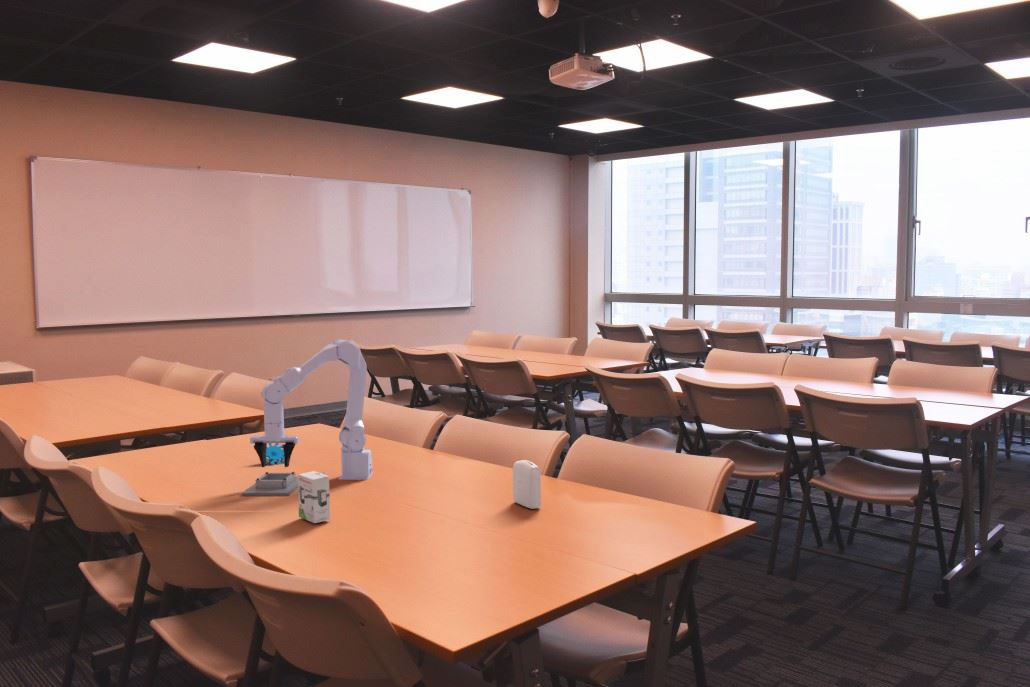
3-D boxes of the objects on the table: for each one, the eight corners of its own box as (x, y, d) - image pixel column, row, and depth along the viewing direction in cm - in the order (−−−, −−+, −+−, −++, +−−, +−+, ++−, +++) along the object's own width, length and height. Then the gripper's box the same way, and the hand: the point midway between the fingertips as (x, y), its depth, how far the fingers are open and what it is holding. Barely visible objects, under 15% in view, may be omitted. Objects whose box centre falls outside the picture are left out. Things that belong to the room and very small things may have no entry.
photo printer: (511, 501, 232) (510, 458, 231) (524, 499, 234) (523, 456, 233) (529, 510, 223) (529, 465, 222) (543, 508, 225) (542, 463, 224)
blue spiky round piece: (266, 465, 276) (256, 441, 280) (261, 475, 279) (252, 451, 284) (296, 460, 283) (287, 437, 287) (291, 470, 286) (282, 446, 291)
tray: (308, 479, 261) (307, 467, 260) (288, 495, 241) (288, 483, 241) (264, 479, 261) (264, 467, 261) (241, 495, 241) (241, 483, 241)
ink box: (297, 517, 219) (296, 473, 218) (314, 513, 222) (313, 470, 221) (314, 523, 213) (313, 478, 212) (331, 519, 216) (330, 475, 215)
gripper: (301, 420, 253) (302, 463, 254) (255, 420, 254) (256, 463, 255) (294, 424, 246) (296, 468, 247) (246, 424, 247) (248, 468, 248)
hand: (275, 466), depth 250 cm, fingers open, 6 cm apart
